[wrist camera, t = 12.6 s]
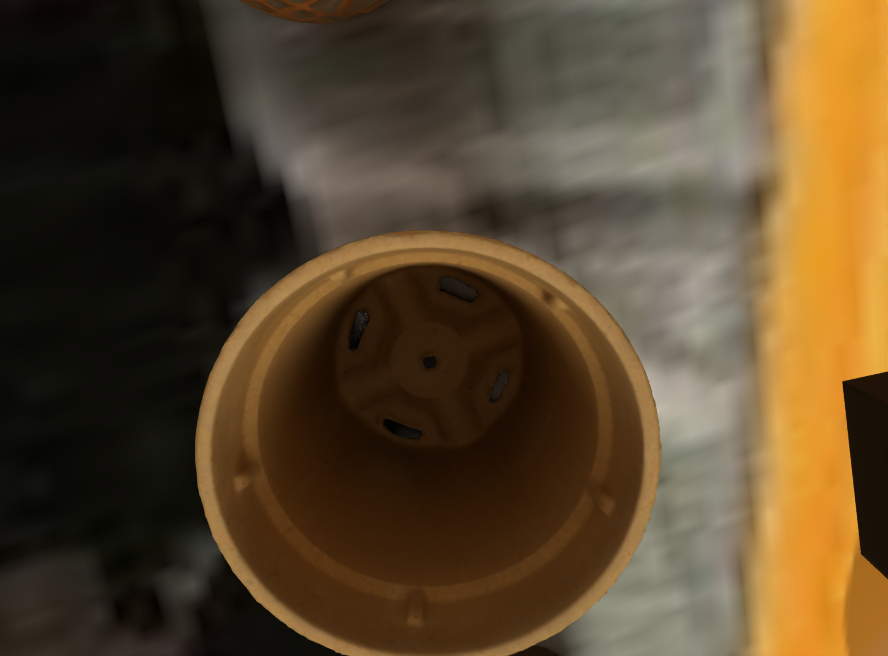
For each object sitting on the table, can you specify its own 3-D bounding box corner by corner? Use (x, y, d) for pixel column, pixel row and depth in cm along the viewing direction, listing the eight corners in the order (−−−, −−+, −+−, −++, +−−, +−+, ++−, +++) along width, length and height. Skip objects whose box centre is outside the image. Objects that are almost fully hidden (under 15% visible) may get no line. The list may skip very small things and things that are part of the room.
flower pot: (584, 199, 23) (670, 222, 14) (582, 491, 25) (656, 664, 16) (270, 210, 23) (169, 239, 14) (294, 500, 25) (218, 678, 16)
